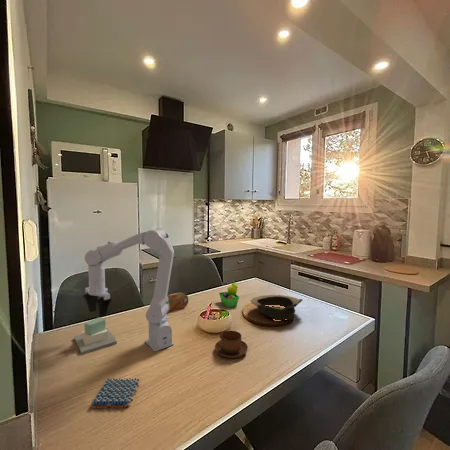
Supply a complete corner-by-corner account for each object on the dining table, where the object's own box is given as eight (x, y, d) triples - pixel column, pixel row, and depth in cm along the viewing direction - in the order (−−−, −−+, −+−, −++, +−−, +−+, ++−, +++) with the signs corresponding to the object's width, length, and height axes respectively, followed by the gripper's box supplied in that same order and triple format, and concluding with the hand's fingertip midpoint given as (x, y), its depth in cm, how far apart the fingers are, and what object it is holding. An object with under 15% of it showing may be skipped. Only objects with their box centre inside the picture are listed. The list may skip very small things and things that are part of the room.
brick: (105, 329, 103) (105, 319, 102) (90, 335, 98) (90, 325, 97) (99, 326, 105) (99, 317, 104) (84, 333, 100) (84, 322, 99)
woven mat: (141, 382, 78) (141, 376, 78) (129, 410, 68) (129, 403, 68) (106, 383, 78) (106, 376, 78) (89, 411, 68) (89, 403, 67)
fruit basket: (218, 301, 145) (218, 281, 144) (232, 299, 149) (232, 279, 148) (227, 308, 135) (227, 287, 134) (241, 306, 139) (242, 285, 138)
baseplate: (116, 343, 100) (116, 333, 99) (81, 354, 92) (81, 343, 92) (106, 330, 111) (106, 320, 110) (74, 338, 103) (74, 329, 103)
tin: (161, 314, 127) (161, 297, 127) (158, 312, 130) (158, 295, 129) (188, 307, 136) (188, 292, 135) (186, 305, 138) (186, 290, 138)
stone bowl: (293, 330, 112) (292, 308, 111) (242, 320, 125) (240, 301, 124) (307, 310, 133) (306, 292, 132) (262, 303, 146) (261, 287, 145)
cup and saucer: (208, 355, 93) (208, 338, 92) (224, 340, 103) (224, 325, 103) (239, 365, 87) (239, 347, 87) (252, 348, 98) (252, 332, 97)
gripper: (117, 280, 100) (117, 314, 101) (97, 274, 109) (97, 306, 110) (99, 284, 95) (100, 321, 96) (79, 278, 103) (80, 311, 104)
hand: (97, 313), depth 102 cm, fingers open, 7 cm apart
